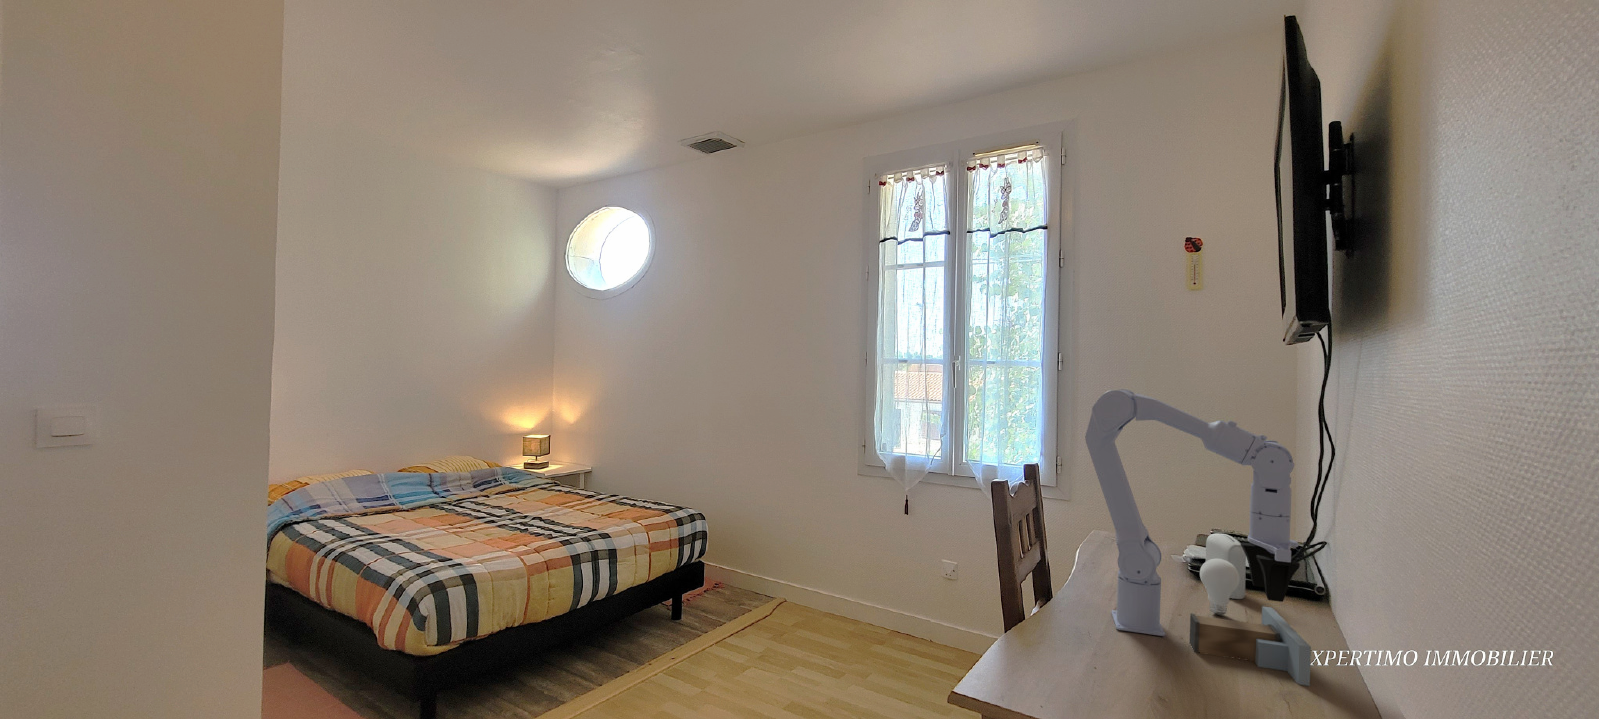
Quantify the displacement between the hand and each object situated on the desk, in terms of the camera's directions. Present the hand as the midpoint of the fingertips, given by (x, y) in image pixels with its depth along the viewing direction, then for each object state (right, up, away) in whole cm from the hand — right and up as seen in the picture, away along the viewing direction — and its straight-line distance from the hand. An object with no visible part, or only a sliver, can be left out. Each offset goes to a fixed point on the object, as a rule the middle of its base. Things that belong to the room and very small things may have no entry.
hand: (1267, 593), depth 116 cm
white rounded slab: (+13, -11, +33) cm, 37 cm away
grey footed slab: (-1, -10, -2) cm, 11 cm away
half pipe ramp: (-6, -10, 0) cm, 12 cm away
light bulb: (+3, -11, +18) cm, 21 cm away
